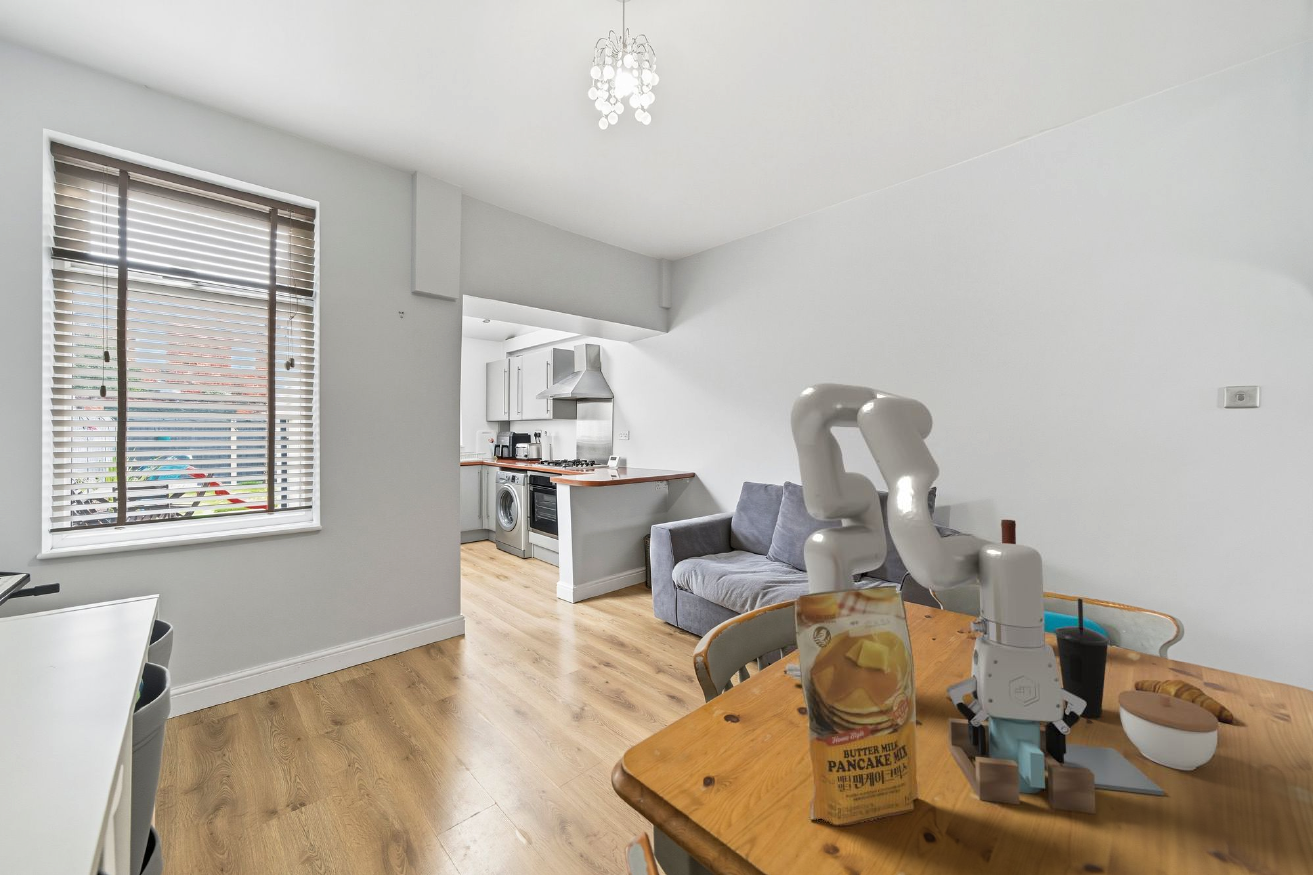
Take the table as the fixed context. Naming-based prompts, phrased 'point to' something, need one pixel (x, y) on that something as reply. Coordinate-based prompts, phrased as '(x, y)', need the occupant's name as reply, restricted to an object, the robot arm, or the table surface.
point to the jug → (1019, 750)
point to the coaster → (1109, 769)
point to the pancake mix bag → (858, 702)
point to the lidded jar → (1168, 729)
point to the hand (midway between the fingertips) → (1016, 753)
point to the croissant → (1186, 696)
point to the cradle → (1002, 776)
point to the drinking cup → (1083, 663)
